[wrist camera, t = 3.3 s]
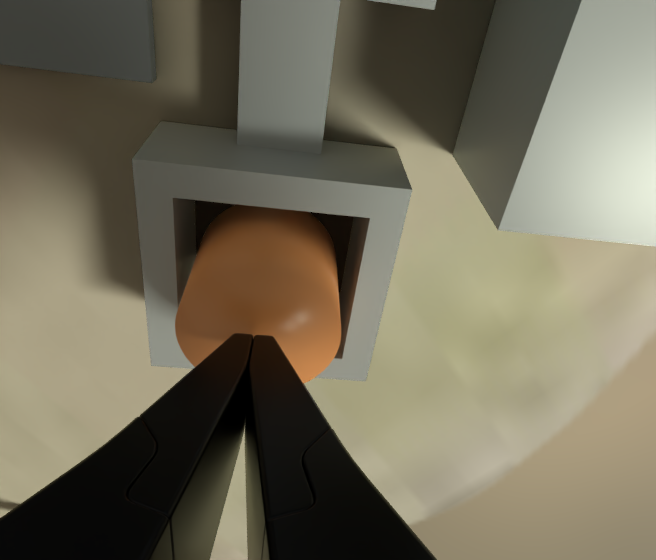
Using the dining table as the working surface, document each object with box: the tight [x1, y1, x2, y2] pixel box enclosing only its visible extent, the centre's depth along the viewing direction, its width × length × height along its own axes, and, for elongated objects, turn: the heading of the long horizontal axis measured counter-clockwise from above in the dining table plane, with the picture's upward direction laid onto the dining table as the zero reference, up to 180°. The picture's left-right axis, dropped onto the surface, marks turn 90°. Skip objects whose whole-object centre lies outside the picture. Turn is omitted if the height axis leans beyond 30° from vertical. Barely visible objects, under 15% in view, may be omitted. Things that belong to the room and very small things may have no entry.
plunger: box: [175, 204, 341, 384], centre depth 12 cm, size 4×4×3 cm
